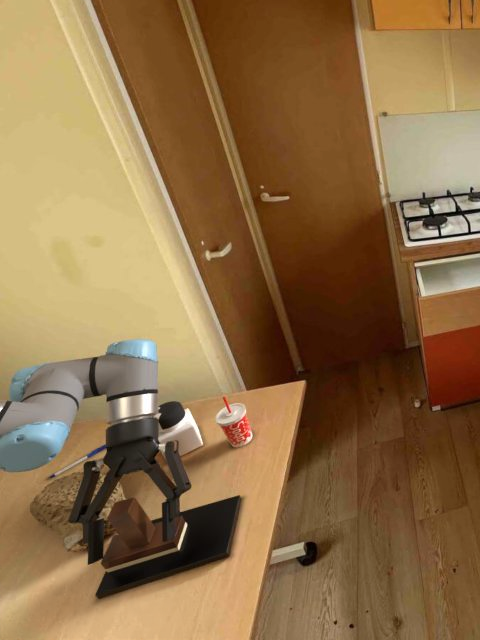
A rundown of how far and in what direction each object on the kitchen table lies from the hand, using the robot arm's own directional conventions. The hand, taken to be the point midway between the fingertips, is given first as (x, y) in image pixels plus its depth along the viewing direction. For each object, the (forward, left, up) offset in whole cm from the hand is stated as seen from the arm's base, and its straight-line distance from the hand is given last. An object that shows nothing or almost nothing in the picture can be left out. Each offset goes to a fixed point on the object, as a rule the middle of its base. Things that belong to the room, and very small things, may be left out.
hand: (133, 550), depth 75 cm
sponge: (-15, +16, -6) cm, 23 cm away
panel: (+4, +3, -6) cm, 8 cm away
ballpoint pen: (-23, +32, -6) cm, 40 cm away
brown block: (0, +3, -4) cm, 5 cm away
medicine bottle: (-2, +29, -6) cm, 30 cm away
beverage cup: (+11, +26, -6) cm, 29 cm away
